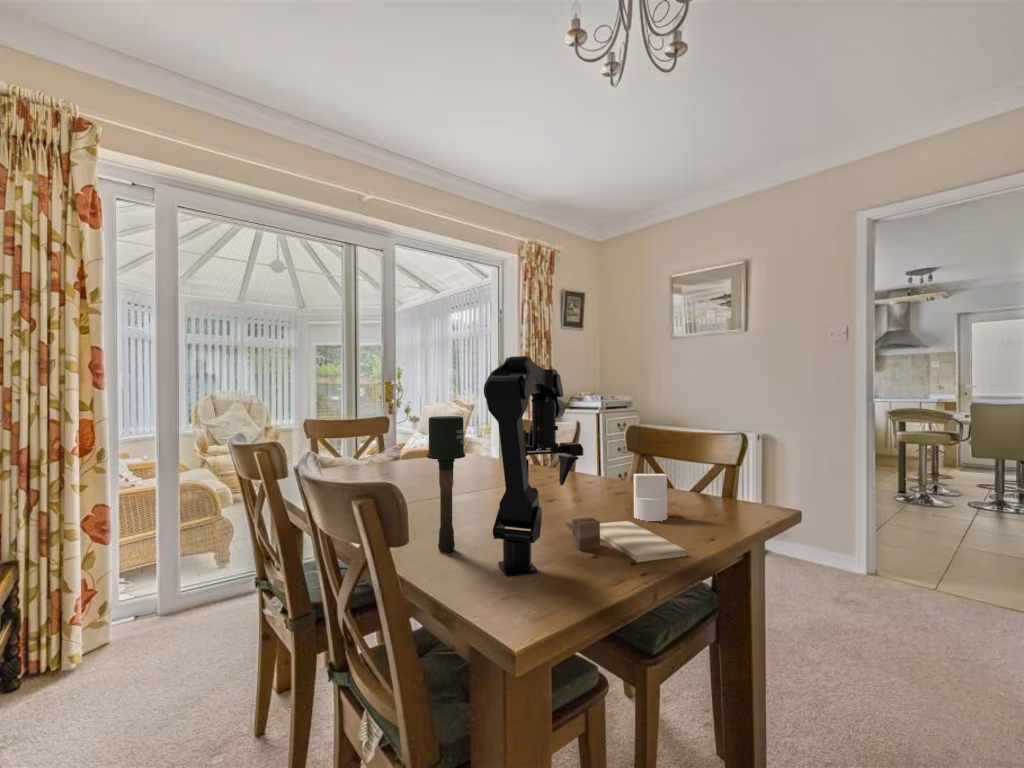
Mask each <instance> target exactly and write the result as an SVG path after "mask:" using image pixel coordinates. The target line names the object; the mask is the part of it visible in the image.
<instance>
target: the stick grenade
mask: <svg viewBox="0 0 1024 768" xmlns="http://www.w3.org/2000/svg"><path fill="white" fill-rule="evenodd" d="M464 436H465V435H464V417H463V416H458V415H457V416H455V415H454V416H453V415H452V416H451V415H448V416H447V415H445V416H444V415H443V416H442V415H440V416H439V415H437V416H430V417H429V418H428V453H427V454H426V458H427V459H429V460H437V463H438V483H439V488H440V489H439V491H440V492H439V493H440V494H439V495H440V497H439V498H440V499H439V501H440V503H439V504H440V509H439V513H440V516H439V517H440V519H439V520H440V527H439V530H438V531H439V532H438V542H437V543H438V544H437V549H439V552H440V551H441V553H444V552H448V553H451V551H452V552H453V551H454V550H455V546H456V545H455V530H454V526H453V486H454V466H455V465H454V463H455V461H456V460H458V459H463V458H465V457H466V453H465V452H464V451H465V450H464V449H465V447H464V446H465V445H464V443H465V442H464Z"/></svg>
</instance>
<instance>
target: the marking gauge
mask: <svg viewBox="0 0 1024 768" xmlns="http://www.w3.org/2000/svg"><path fill="white" fill-rule="evenodd" d="M600 522H601V521H599V520H597V519H595V518H594V517H582V518H572V519H570V520H564V527H566V528H567V529H568V531H572V532H571V533H572V536H571V538H572V544H571V545H572V546H573V547H574V548H576V550H578V551H591V550H599V549H601V538H600Z"/></svg>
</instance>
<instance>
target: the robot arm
mask: <svg viewBox="0 0 1024 768" xmlns="http://www.w3.org/2000/svg"><path fill="white" fill-rule="evenodd" d="M563 389H564V388H563V384H562V380H561V375H560V373H558V371H557V370H556V369H552V368H547V369H545V368H543V367H541V366H539V365H538V364H537V363H535V362H534V361H533V359H532V358H531V357H530V356H529V357H528V356H527V355H524V356H523V355H521V356H519V355H518V356H509V357H506V358H505V360H504V361H503V363H502V364H501V365H499V366H498V367H496V368H495V369H494V370H492V371H491V372H490V373H489V376H488V378H487V379H486V381H485V382H484V385H483V395H484V398H485V400H486V404H487V409H488V412H489V413H490V414H491V415H492V417H493V418H494V419H495V421H496V422H497V423H498V424H497V425H498V432H499V439H500V441H499V442H500V448H501V449H500V451H501V458H502V468H503V477H504V485H505V491H504V493H503V495H502V497H501V499H500V501H499V507H498V510H497V514H496V517H495V520H494V525H493V527H492V535H493V539H494V540H502V561H498V563H497V565H498V567H499V568H500V569H501V571H502V572H503V574H504V575H505V576H509V577H510V576H517V575H523V574H524V575H525V574H526V575H527V574H532V573H538V568H537V567H536V566H535V565H534V564H533V563H532V544H535V542H536V541H538V540H539V538H541V530H542V521H543V510H542V507H541V506H540V500H539V490H538V489H537V487H531V485H530V483H529V476H530V475H529V472H530V471H529V464H530V463H529V461H530V460H529V459H527V457H528V456H530V455H531V456H533V455H553V454H558V455H557V456H558V460H559V477H558V479H559V485H560V486H563V485H564V484H565V481H566V479H567V477H568V475H569V473H570V470H571V469H572V467H573V465H574V463H575V462H576V460H579V456H580V457H581V456H584V447H583V444H581V443H577V442H573V441H571V442H560V443H558V442H557V439H556V438H557V435H556V433H557V431H559V426H558V425H556V421H557V420H558V419H561V418H562V417H563V416H564V414H565V412H566V405H565V403H564V401H563V400H562V399H560V398H564V390H563ZM530 397H532V398H531V400H530ZM530 401H531V424H530V426H529V432H527V431H526V430H525V429H524V422H523V416H524V414H525V412H526V411H527V409H528V406H529V405H530ZM511 528H512V529H511ZM513 528H515V529H513ZM522 529H523V530H522Z"/></svg>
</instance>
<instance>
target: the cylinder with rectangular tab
mask: <svg viewBox="0 0 1024 768" xmlns="http://www.w3.org/2000/svg"><path fill="white" fill-rule="evenodd" d="M633 517H634V518H635V519H636V518H637V519H636V520H638V519H640V520H639V521H642V520H645V521H644V522H648V521H661V522H664V521H663V520H665V521H667V520H668V476H667V474H666V473H633ZM666 519H667V520H666Z"/></svg>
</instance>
